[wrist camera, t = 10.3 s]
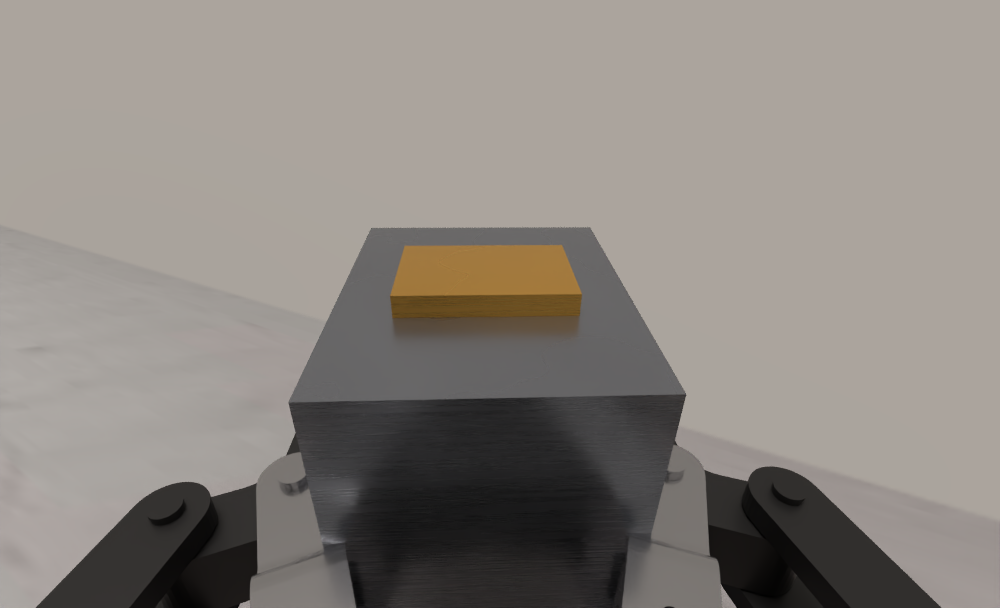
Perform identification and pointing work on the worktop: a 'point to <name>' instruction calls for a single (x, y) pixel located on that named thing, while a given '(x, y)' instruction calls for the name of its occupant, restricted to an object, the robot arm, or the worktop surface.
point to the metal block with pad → (485, 420)
